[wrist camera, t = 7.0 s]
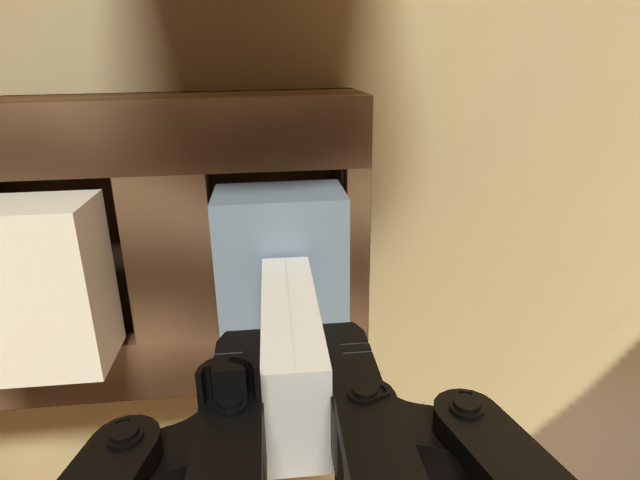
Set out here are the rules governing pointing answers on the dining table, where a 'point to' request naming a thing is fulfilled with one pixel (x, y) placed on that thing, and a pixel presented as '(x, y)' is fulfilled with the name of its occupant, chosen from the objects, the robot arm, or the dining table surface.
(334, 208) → the slate key
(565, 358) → the dining table surface
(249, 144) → the key console
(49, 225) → the ivory key
